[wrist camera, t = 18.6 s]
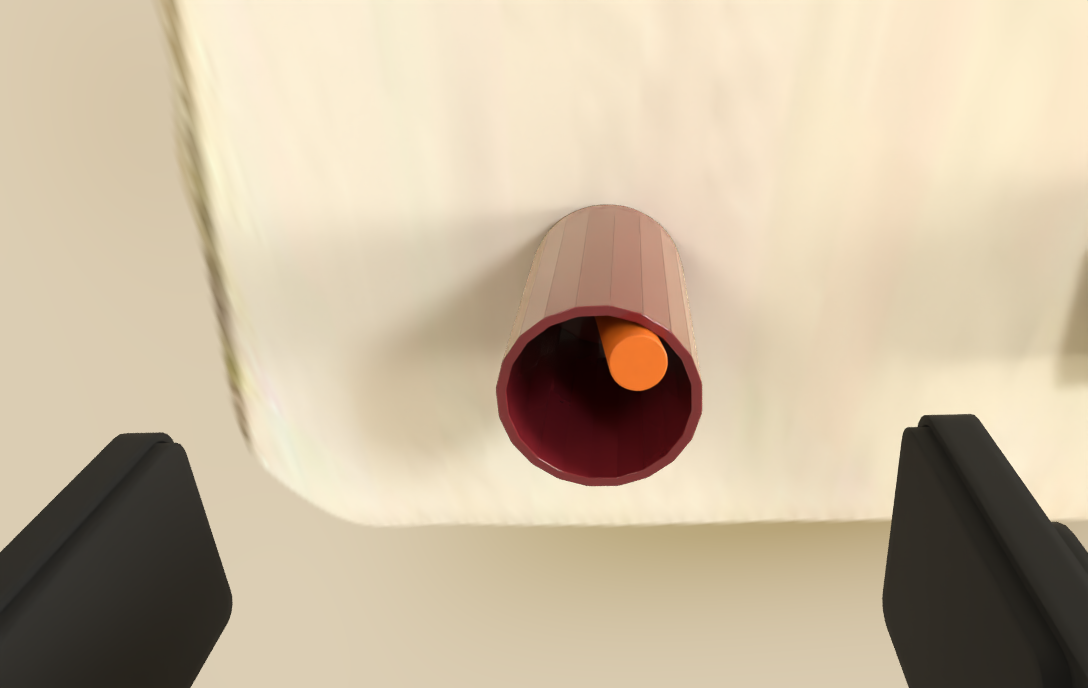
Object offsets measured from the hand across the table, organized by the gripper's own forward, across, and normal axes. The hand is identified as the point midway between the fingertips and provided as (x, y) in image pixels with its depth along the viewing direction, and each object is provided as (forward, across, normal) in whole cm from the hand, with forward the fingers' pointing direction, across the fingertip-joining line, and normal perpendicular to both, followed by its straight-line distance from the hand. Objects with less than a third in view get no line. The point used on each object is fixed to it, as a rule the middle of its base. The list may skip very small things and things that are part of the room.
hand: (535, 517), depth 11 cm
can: (+26, 0, +7) cm, 27 cm away
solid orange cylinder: (+26, 0, +7) cm, 27 cm away
